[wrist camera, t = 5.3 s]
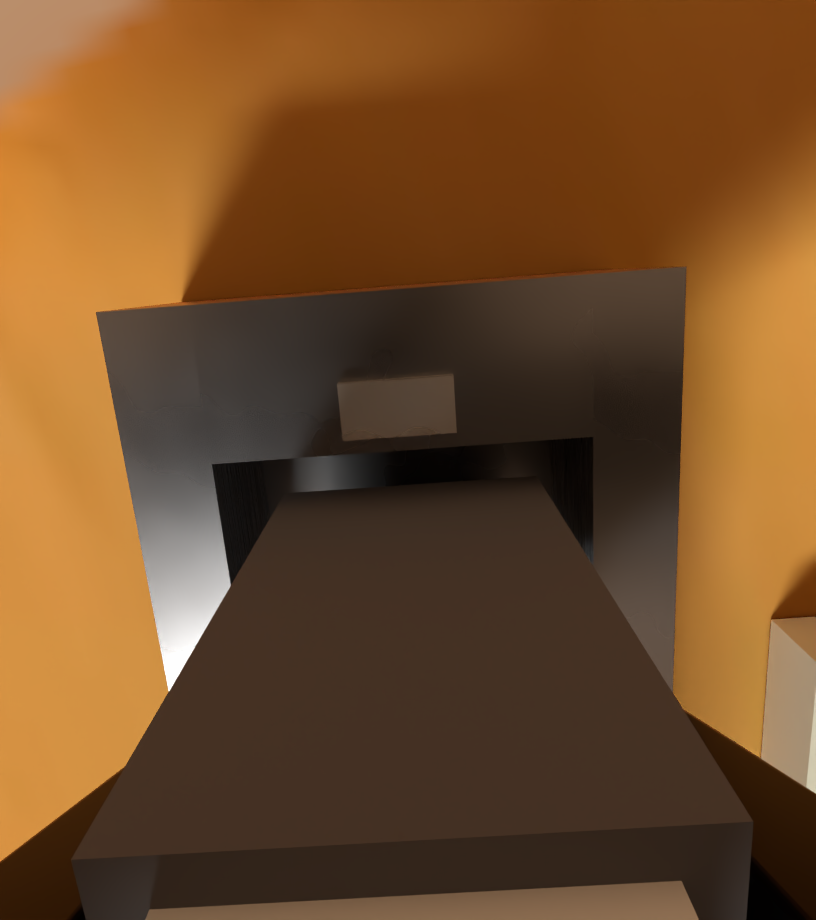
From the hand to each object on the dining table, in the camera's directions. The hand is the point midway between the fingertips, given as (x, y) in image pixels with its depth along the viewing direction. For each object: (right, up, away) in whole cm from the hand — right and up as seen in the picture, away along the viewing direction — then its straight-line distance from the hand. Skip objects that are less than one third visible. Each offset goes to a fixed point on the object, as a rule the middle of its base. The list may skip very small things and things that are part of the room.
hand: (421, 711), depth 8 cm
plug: (0, +1, +3) cm, 3 cm away
